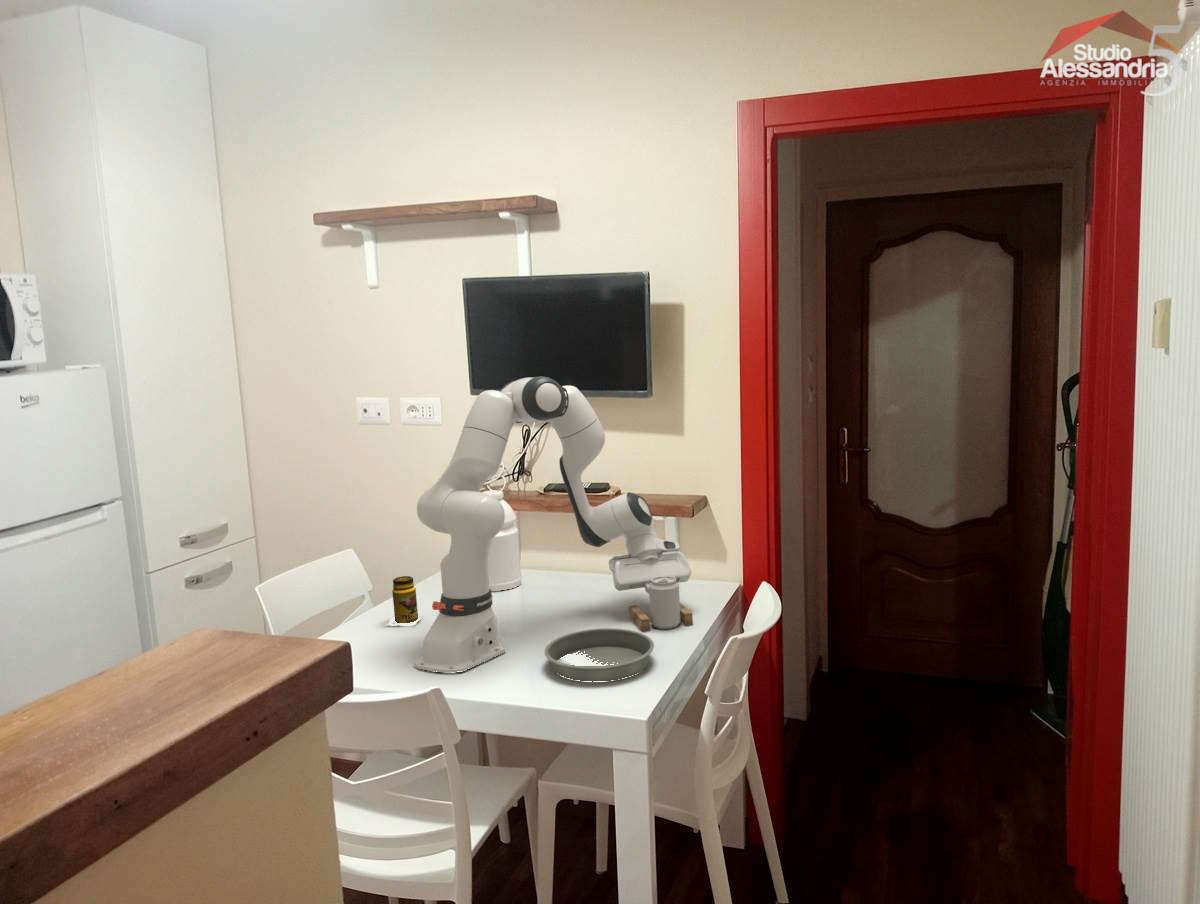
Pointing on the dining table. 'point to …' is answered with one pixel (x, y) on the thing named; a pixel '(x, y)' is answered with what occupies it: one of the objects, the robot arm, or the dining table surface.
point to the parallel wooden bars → (644, 621)
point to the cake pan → (601, 653)
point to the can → (664, 602)
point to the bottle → (504, 551)
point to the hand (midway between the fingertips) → (658, 599)
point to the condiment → (404, 600)
